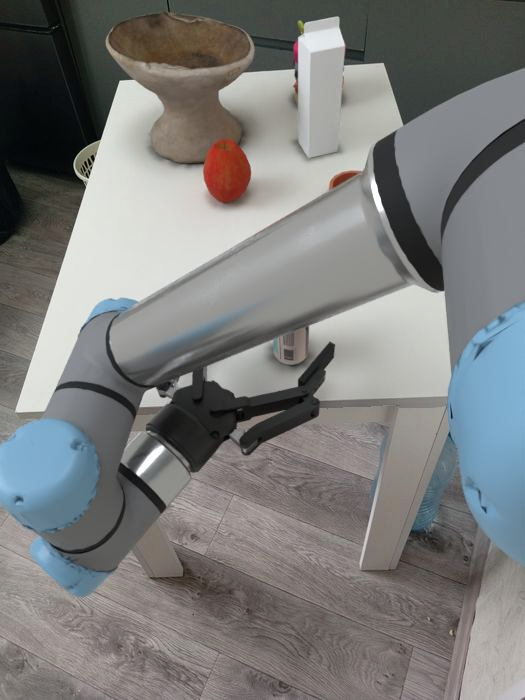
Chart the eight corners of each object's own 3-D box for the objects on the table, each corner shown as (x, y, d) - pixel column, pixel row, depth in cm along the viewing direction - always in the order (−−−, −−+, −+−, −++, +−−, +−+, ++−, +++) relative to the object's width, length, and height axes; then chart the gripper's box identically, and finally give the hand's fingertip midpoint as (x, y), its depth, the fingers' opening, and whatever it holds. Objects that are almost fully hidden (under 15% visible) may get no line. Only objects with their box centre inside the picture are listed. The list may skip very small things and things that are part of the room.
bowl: (258, 175, 94) (249, 61, 78) (124, 179, 95) (88, 69, 79) (261, 102, 109) (255, -6, 93) (145, 107, 110) (120, 2, 94)
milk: (297, 142, 99) (296, 15, 82) (327, 135, 100) (332, 8, 83) (308, 159, 96) (310, 30, 78) (338, 152, 97) (347, 23, 79)
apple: (247, 212, 88) (242, 157, 79) (201, 208, 89) (191, 153, 80) (257, 183, 92) (253, 127, 84) (213, 180, 94) (204, 125, 85)
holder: (383, 213, 86) (386, 195, 83) (336, 222, 85) (337, 204, 82) (367, 184, 90) (369, 166, 87) (322, 193, 90) (323, 175, 87)
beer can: (315, 354, 69) (318, 294, 60) (288, 372, 68) (287, 314, 58) (293, 332, 72) (292, 271, 62) (266, 350, 70) (261, 290, 60)
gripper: (100, 410, 62) (213, 301, 72) (263, 533, 52) (370, 389, 62) (79, 376, 56) (206, 262, 65) (259, 509, 46) (377, 353, 56)
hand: (285, 324), depth 64 cm, fingers open, 13 cm apart
